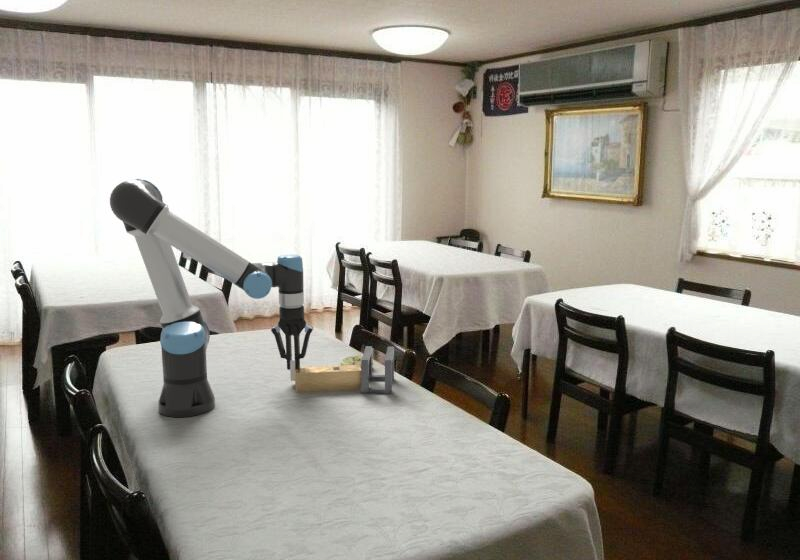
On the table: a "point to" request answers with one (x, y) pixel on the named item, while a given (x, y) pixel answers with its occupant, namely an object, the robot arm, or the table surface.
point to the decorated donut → (353, 360)
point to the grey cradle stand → (367, 375)
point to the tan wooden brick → (328, 378)
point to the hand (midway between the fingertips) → (293, 379)
